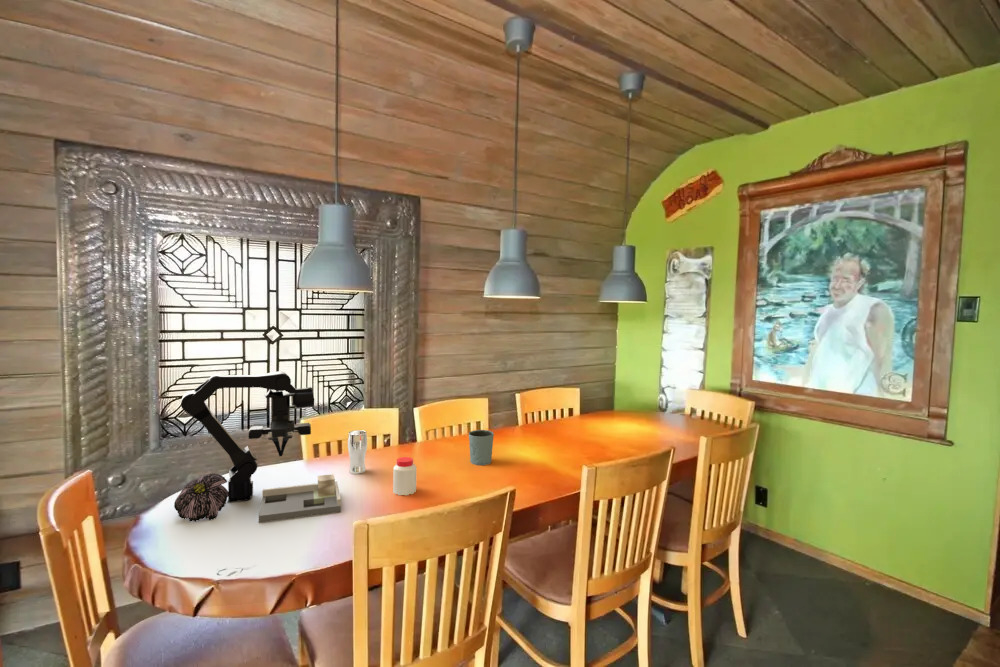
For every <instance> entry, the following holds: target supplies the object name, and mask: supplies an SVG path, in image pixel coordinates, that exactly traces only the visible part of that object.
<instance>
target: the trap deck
mask: <svg viewBox="0 0 1000 667" xmlns="http://www.w3.org/2000/svg"><path fill="white" fill-rule="evenodd" d="M338 483H339V482H338V480H337V481H336V480H335V495H327V496H318V482H316V483H307V484H300V485H292V486H291V485H289V486H282V487H271V488H263V489H262V496H261V497H262V498H261V502H260V506H259V508H260V509H259V512H258V523H259V524H260V523H267V522H269V523H270V522H275V521H282V520H283V521H284V520H290V519H299V518H305V517H314V516H321V515H328V514H337V513H341V511H342V503H341V502H342V500H341V494H340V489H339V484H338Z"/></svg>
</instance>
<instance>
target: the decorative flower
mask: <svg viewBox="0 0 1000 667" xmlns="http://www.w3.org/2000/svg"><path fill="white" fill-rule="evenodd" d="M227 483H228V480H227V479H226V478H225V476H223V475H221V474H219V473H207V474H203V475H201V476H200V477H197V478H195V479H192V480H190V481H189V482H187V483H186V484H185V485H184V486H183V488H182V489H181V491H180V493H179V495H177V497H176V499H175V501H174V505H173V507H174V510H175V511H176V512H177V514H178V515H177V516H178V517H179V518H180V519H182V518H184V519H183V520H187V519H188V521H189V523H191V522H194V523H196V522H197V521H198V522H200V520H203V519H207V520H208V521H212V520H215V519H216V518H217V517H218V514H219V512H221V511H222V509H223V508H224V507H226V506H225V505H226V504H227V500H228V496H229V492H228V488H226V487H225V486H224V485H223V484H227ZM185 518H186V519H185ZM214 518H215V519H214ZM211 519H212V520H211Z"/></svg>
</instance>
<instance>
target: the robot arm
mask: <svg viewBox="0 0 1000 667" xmlns="http://www.w3.org/2000/svg"><path fill="white" fill-rule="evenodd" d="M291 380H292V379H291V378H290V376H289V375H288V373H286V372H285V371H281V370H280V371H279V370H278V371H273V372H267V373H263V374H234V375H233V374H231V375H230V374H224V375H223V374H212V375H211V376H210V377H209V378H208V379H207V380H206V381H204V382H203V383H201V384H200V385H198V386H197V387H196V388H195V389H193V390H189V391H186V392H185V393H184V394H183V395H182V397H181V401H180V406H181V409H182V410H183V411H184V412H186V413H187V414H188V415H190V417H192V418H194V419H195V420H197V421H198V422H200V423H201V424H202V425H203V427H204V428H205V429H206V430H207V431H208V433H210V435H211V436H212V437H213V438H214V439H215V441H216V442H217V443H218V444H219V446H220V447H221V448H222V449H223V450H224V451H225V452H226V453H227V455H228V456H229V457H230V460H231V462H232V464H233V466H232V467H231V468H230V469H229V470H228V474H229V478H228V480H227V483H228V484H227V485H228V488H227V491H228V492H229V496H228V497H227V501H226V503H232V502H233V503H234V502H242V501H250V500H251V499H252V496H253V495H254V481H253V480H252V475H254V474H255V473H256V472H257V469H258V463H257V461H258V458H257V456H256V454H255V453H253V452H252V450H251V448H250V447H249V445H247V446H245V447H242V446H240V444H239V443H238V442H237V441H236V440H235V439H234V438H233V437H232V435H231V434H230V433H229V432H228V431H227V429H226V428H225V427H224V425H222V424H221V422H220V421H219V420H218V419H217V417H216V416H215V415H214V414H213V412H212V410H211V409H210V407H209V405H208V403H207V400H208V399H210V397H211V396H212V395H213V394H215V392H216V391H217V390H219V389H234V388H235V389H236V388H237V389H239V388H243V389H245V388H262V389H265V390H266V389H267V390H268V391H267V392H266V393H265V394H264V397H265V399H270V409H271V410H270V411H271V412H270V428H267V427H266V428H264V425H256V426H251V427H250V428H249V430H248V439H249V440H254V439H260V438H261V437H262V436H263V435H267V436H268V438H267V439H268V440H269V441H272V443H273V444H274V446H275V449H276V452H277V454H278V456H279V457H283V455H284V452H285V448H286V445H287V444H288V441H289V439H293V434H294V433H298V434H299V435H300V436H306V435H307V436H308V435H312V427H311V426H312V425H311V423H310V422H301V423H299V422H298V424H297V425H298V426H295V420H291V406H292V407H294V408H295V409H306V408H314V406H315V397H314V391H313V390H314V389H313V387H312V386H309V387H302V388H296V387H295V386H294V385H293V384H291V383H292V381H291ZM283 391H285V393H284V392H283ZM280 438H282V442H281V441H280Z"/></svg>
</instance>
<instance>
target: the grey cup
mask: <svg viewBox="0 0 1000 667" xmlns="http://www.w3.org/2000/svg"><path fill="white" fill-rule="evenodd" d="M494 435H495V433H494V432H493V431H492V430H487V429H477V430H476V429H475V430H471V431H469V432H468V441H469V459H470V460H469V461H470V463H471V464H472V465H474V464H475V465H474V466H487V464H488V465H490V464H491V463H492V459H493V458H492V457H493V456H492V455H493V445H494V444H493V443H494V437H495V436H494Z"/></svg>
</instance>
